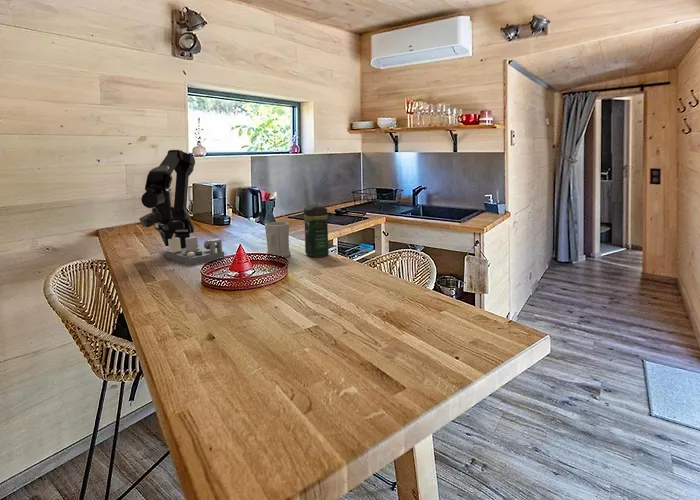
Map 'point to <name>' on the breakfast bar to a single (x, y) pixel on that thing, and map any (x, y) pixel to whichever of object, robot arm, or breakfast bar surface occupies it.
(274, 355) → the breakfast bar surface
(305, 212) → the coffee jar
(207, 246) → the plunger
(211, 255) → the console
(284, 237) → the cup
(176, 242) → the cream flanged block
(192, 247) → the white stepped block
